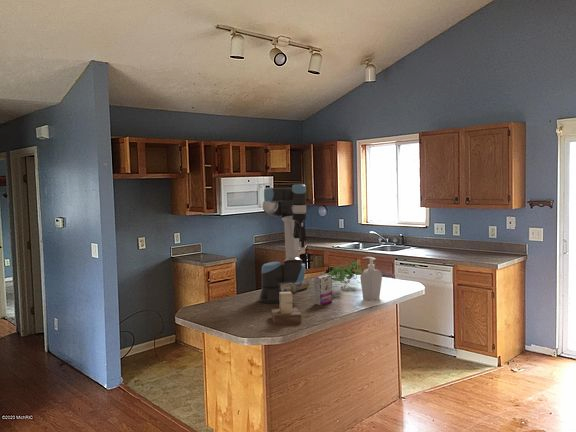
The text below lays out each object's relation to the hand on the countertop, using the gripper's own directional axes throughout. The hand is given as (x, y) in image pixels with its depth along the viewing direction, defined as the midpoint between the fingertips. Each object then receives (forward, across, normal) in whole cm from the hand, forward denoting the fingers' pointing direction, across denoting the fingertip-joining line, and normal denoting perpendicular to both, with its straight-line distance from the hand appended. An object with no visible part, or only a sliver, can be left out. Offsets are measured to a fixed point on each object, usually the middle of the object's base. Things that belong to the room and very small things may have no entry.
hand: (299, 251), depth 279 cm
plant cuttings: (+35, -49, +46) cm, 76 cm away
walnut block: (+35, +10, -10) cm, 38 cm away
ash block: (+30, +10, -10) cm, 33 cm away
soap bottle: (+35, -24, +50) cm, 66 cm away
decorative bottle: (+35, -56, +9) cm, 67 cm away
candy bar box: (+35, -20, +19) cm, 44 cm away
